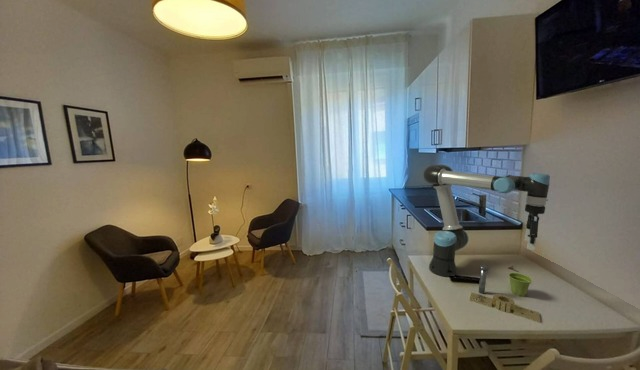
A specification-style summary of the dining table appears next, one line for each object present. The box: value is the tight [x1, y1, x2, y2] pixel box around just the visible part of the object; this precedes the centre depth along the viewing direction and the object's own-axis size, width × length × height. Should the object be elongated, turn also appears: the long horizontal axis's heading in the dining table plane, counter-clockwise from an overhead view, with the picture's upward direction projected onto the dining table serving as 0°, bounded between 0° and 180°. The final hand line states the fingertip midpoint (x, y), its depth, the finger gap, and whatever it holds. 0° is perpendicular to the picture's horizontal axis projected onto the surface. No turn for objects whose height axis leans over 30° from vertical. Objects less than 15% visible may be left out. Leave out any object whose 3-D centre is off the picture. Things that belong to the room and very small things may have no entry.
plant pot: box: [508, 272, 533, 297], centre depth 128 cm, size 9×9×9 cm
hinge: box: [469, 292, 541, 323], centre depth 117 cm, size 26×8×4 cm, turn 53°
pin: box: [478, 264, 489, 295], centre depth 128 cm, size 4×4×14 cm
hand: (529, 245), depth 128 cm, fingers open, 13 cm apart
